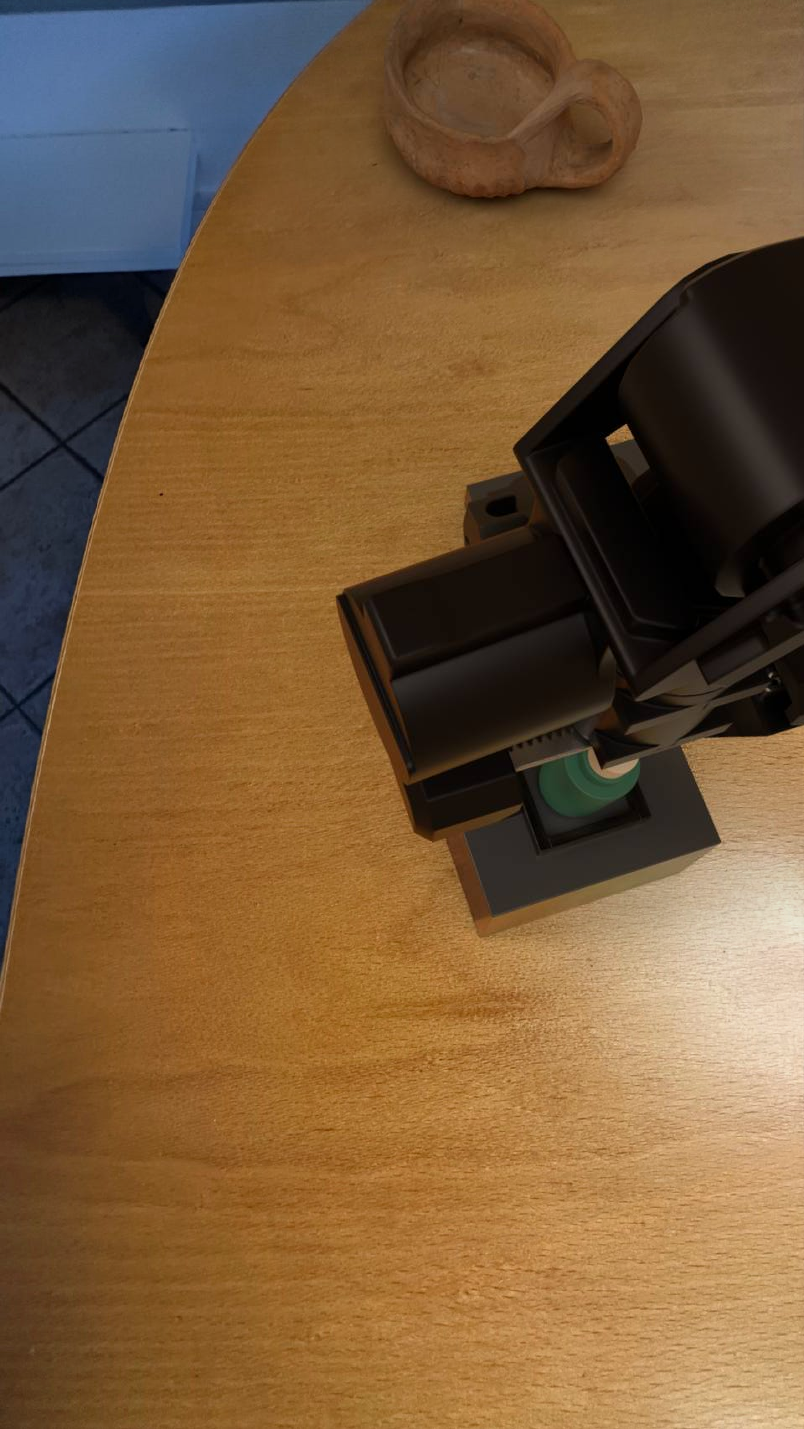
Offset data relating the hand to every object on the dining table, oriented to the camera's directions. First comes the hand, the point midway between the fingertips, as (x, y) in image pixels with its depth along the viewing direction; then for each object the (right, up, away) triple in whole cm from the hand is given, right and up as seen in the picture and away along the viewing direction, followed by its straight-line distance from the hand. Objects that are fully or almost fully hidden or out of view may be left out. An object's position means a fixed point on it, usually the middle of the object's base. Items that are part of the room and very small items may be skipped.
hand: (589, 754), depth 48 cm
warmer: (0, -4, +12) cm, 13 cm away
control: (+3, +12, +18) cm, 22 cm away
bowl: (-1, +42, +29) cm, 51 cm away
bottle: (0, -2, +5) cm, 5 cm away
